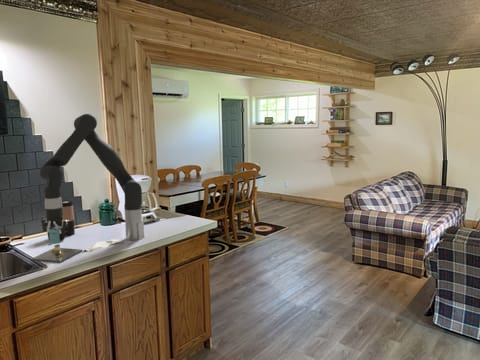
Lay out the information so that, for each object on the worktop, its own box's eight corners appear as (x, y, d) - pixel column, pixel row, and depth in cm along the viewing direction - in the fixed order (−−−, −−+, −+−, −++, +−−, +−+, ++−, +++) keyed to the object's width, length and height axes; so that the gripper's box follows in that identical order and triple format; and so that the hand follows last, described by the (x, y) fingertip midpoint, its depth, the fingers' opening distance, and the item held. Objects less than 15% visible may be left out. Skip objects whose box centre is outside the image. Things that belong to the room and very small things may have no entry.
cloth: (120, 238, 208) (120, 234, 208) (132, 243, 198) (131, 239, 198) (74, 249, 190) (73, 244, 190) (84, 255, 180) (83, 251, 180)
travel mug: (61, 237, 208) (58, 203, 205) (60, 233, 215) (58, 200, 212) (75, 235, 212) (73, 202, 208) (74, 231, 218) (72, 199, 215)
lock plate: (82, 251, 184) (81, 241, 183) (60, 263, 169) (59, 251, 168) (55, 249, 188) (54, 239, 187) (31, 260, 172) (30, 249, 171)
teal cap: (58, 238, 183) (57, 225, 182) (68, 239, 181) (67, 225, 180) (43, 244, 173) (42, 230, 172) (54, 245, 172) (53, 231, 171)
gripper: (71, 205, 177) (74, 238, 179) (46, 204, 180) (49, 236, 182) (61, 209, 169) (63, 243, 172) (35, 207, 172) (38, 241, 175)
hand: (56, 239), depth 177 cm, fingers closed on teal cap, 5 cm apart
